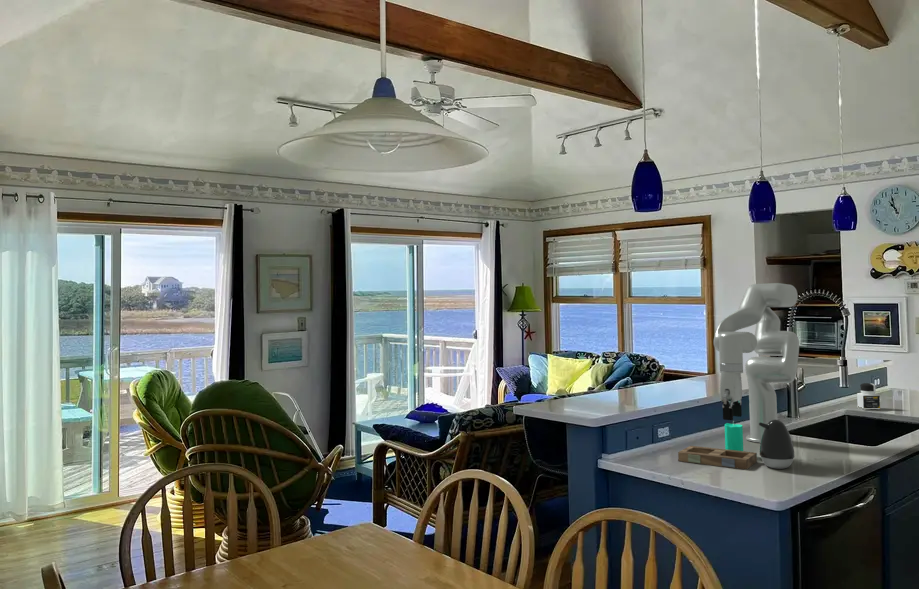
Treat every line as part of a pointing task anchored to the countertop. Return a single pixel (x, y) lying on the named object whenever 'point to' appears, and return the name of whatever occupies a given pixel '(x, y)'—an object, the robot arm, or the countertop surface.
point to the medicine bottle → (868, 396)
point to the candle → (734, 437)
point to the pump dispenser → (776, 445)
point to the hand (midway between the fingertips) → (732, 418)
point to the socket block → (718, 457)
